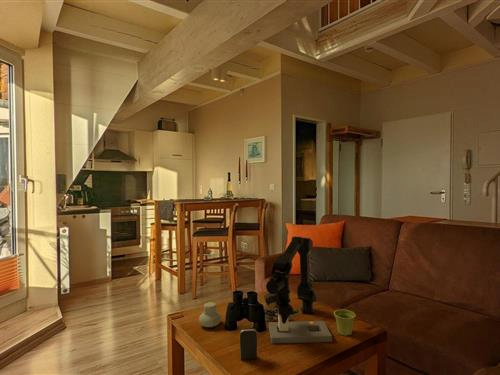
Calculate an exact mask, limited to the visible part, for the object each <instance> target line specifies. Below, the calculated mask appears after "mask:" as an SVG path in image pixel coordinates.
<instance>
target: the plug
mask: <svg viewBox="0 0 500 375" xmlns="http://www.w3.org/2000/svg"><path fill="white" fill-rule="evenodd" d="M277 314H278V313H277ZM277 318H278V321H277V322H278V327H279V331H289V330H288V322H289V318H288V319H287V321H286V323H285V324H283V322H282V317H281V314H278V315H277Z"/></svg>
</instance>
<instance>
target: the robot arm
mask: <svg viewBox="0 0 500 375" xmlns="http://www.w3.org/2000/svg"><path fill="white" fill-rule="evenodd" d="M313 242H314V241H313V240H312V239H311V238H310V237H302V236H291V241H290V242H289V244H288V245H287V247H286V248H285V250H284V252H283V253H282V254H281V255H278V256H277V257H276V259H274V261H273V264H272V266H271V270H270V273H269V274H270V276H271V277H269V280H268V281H267V282H266V285H265V287H266V288H265V289H266V291H267V292H268V293H266V294H264V295H263V298H264V301H265V304H266V306H269V305H271V304H274V303H275V305H276V306H277V308H276V309H277V314H281V317H282V322H283V324H285V323H286V321H287V319H288V320H289V316H290V315H293V314H294V308H293V306H292V305H291V304H290V303H291V298H290V294H291V289H290V275H291V274H292V273H291V272H292V268H293V260H294V258H295V256H296V255H297V253H298V255H299V271H300V283H299V284H298V285H297V288H296V289H297V290H296V293H297V299H298V300H301V307H300V311H301V313H302V314H303V315H305V314H306V315H309V314H311V315H312V314H313V315H314V314H316V312H315V310H314V303H316V302H317V299H318V298H317V293H316V292H315V289H314V288H315V287H314V285H313V283H312V282H311V270H310V268H311V267H310V254H311V251H312V250H313V245H314V243H313Z"/></svg>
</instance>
